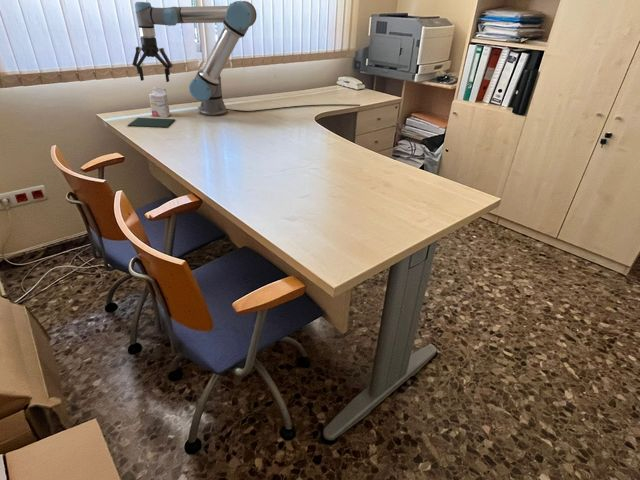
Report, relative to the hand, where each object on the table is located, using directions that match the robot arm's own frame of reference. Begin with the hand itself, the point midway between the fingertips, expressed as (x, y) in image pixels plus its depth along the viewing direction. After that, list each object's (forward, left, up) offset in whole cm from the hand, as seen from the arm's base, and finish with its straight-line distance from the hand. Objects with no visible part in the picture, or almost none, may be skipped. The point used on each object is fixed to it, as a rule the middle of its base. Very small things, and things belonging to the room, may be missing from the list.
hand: (155, 80), depth 213 cm
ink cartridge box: (0, 0, -19) cm, 19 cm away
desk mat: (0, +15, -19) cm, 24 cm away
